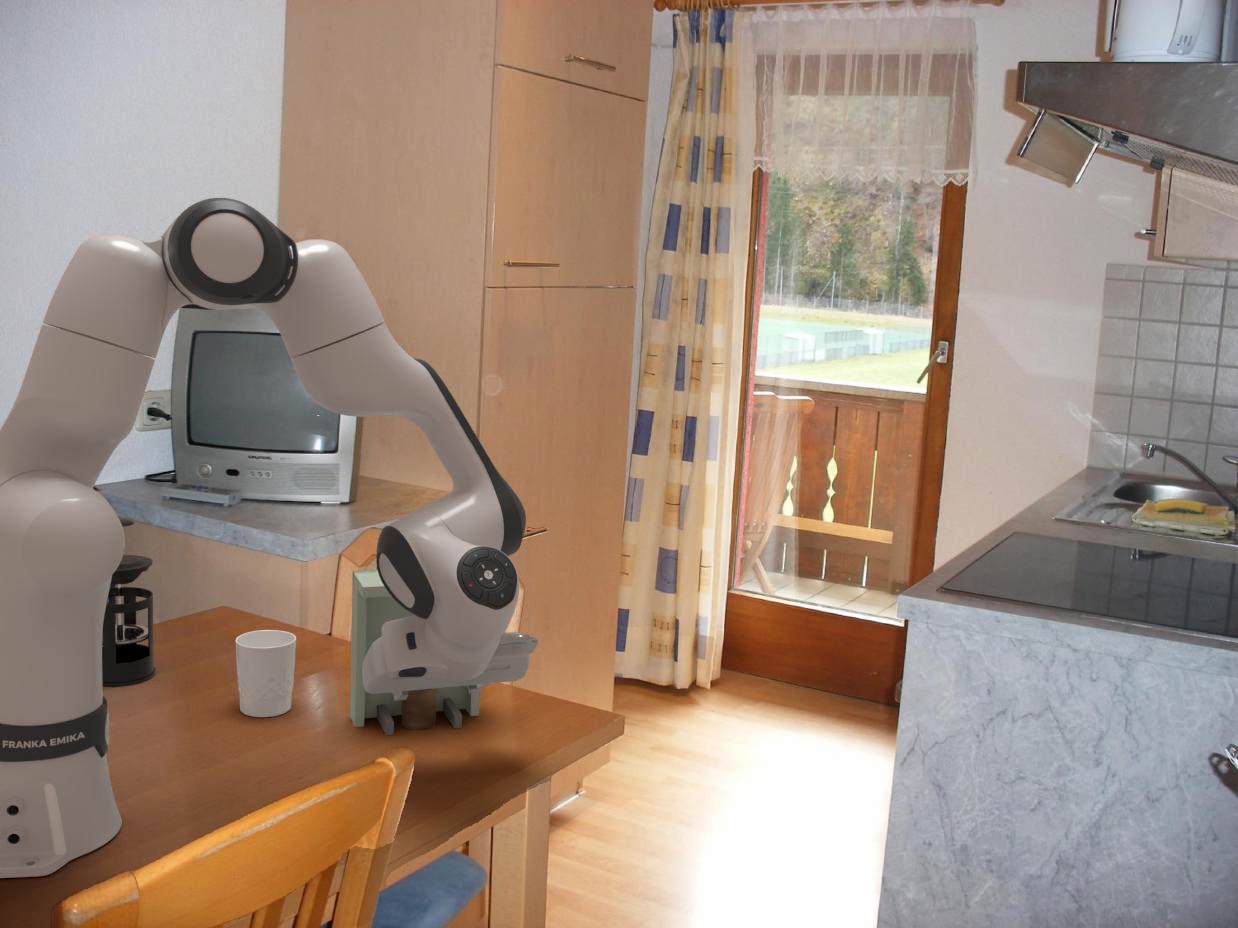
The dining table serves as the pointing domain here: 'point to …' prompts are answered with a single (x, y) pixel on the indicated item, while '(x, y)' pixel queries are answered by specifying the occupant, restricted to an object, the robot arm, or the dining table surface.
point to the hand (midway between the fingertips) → (436, 691)
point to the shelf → (367, 621)
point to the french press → (127, 627)
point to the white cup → (265, 672)
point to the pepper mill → (419, 709)
